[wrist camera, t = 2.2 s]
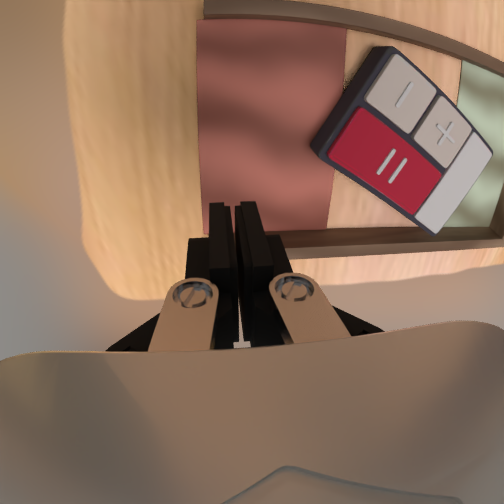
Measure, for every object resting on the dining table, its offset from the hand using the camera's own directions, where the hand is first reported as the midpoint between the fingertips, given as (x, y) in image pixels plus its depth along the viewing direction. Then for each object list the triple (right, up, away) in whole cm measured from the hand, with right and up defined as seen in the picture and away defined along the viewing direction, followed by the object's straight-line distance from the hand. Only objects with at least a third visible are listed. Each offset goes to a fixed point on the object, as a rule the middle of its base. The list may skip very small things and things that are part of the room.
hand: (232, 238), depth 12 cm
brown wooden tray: (+14, +10, +14) cm, 22 cm away
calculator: (+14, +10, +14) cm, 22 cm away
